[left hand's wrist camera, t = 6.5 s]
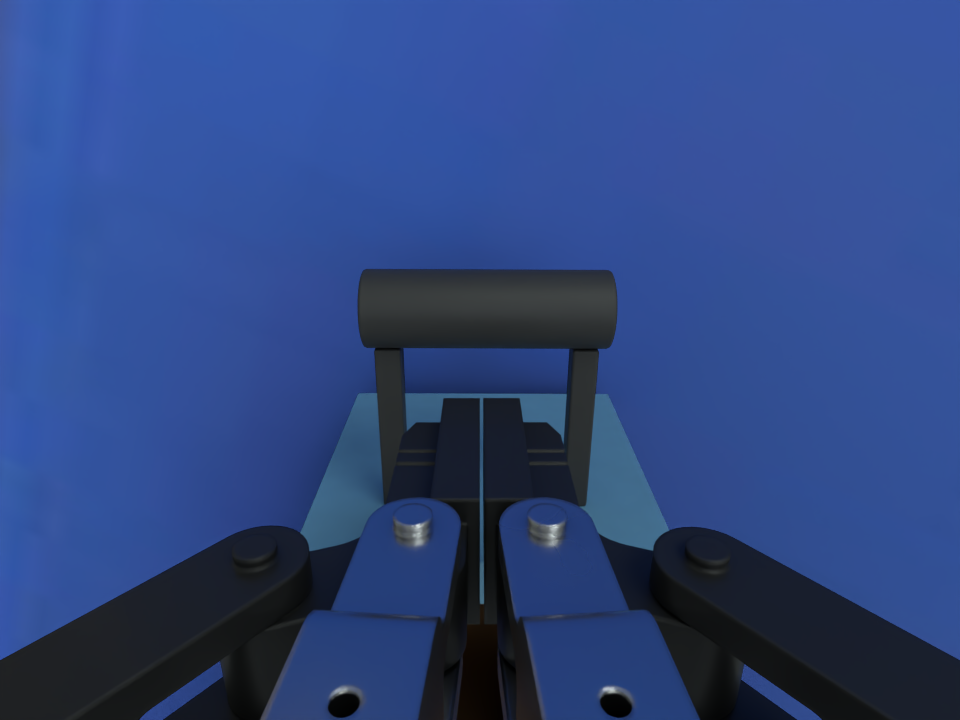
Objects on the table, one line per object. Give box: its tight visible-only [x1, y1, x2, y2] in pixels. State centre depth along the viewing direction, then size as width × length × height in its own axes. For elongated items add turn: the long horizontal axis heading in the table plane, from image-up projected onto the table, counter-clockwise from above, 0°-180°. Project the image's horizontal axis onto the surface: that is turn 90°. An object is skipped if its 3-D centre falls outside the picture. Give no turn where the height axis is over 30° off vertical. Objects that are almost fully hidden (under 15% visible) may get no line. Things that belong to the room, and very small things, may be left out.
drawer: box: [300, 269, 669, 720], centre depth 20 cm, size 26×9×9 cm, turn 0°
